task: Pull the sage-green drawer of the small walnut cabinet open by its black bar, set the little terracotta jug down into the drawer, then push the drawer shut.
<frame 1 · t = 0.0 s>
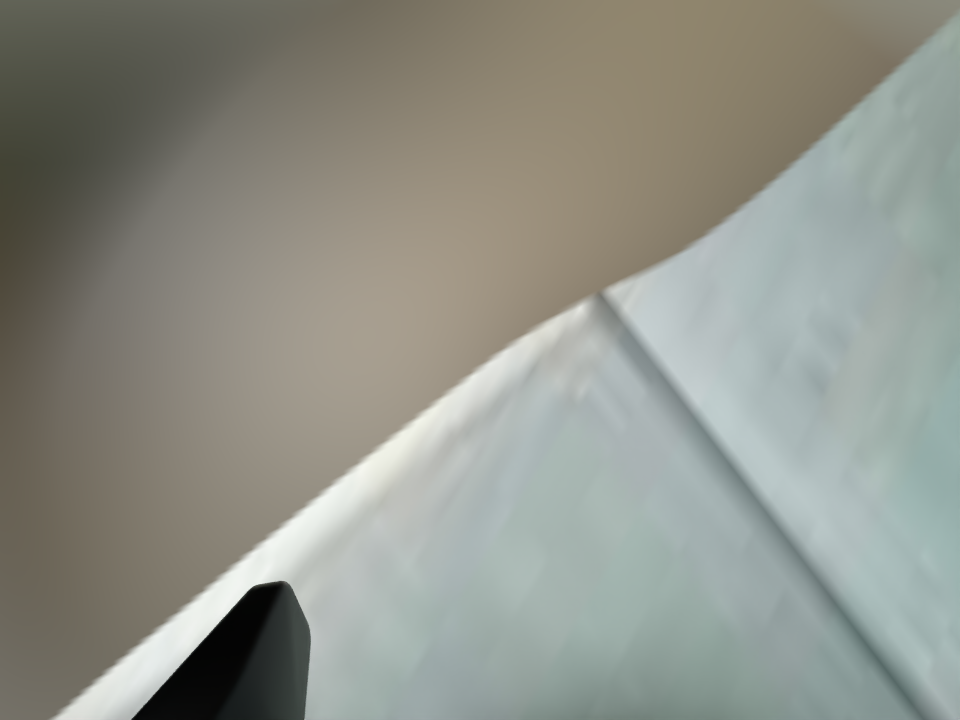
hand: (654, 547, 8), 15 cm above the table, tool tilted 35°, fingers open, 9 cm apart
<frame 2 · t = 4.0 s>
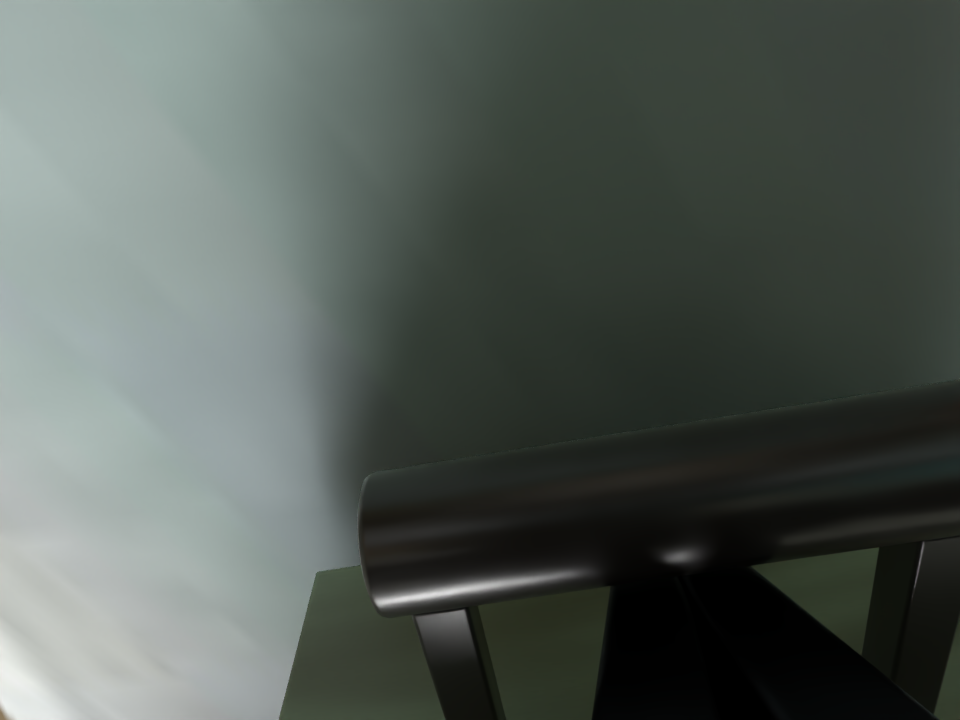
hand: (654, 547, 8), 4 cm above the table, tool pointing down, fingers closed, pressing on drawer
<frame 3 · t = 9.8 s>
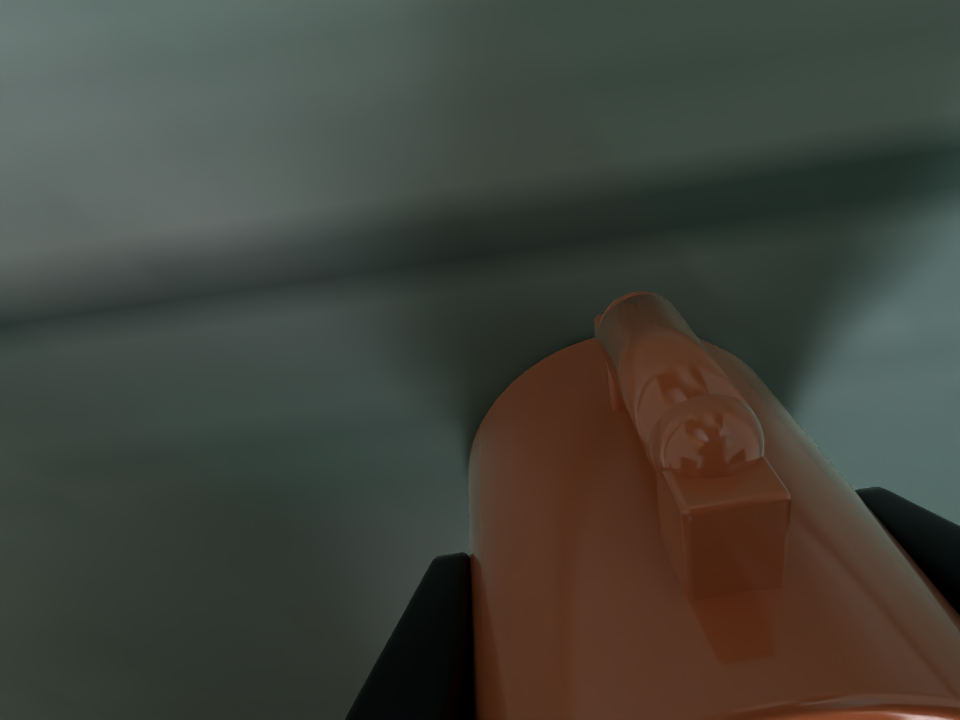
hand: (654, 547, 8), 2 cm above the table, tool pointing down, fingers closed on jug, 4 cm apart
jug: (623, 468, 9), on the table, touching gripper
when the fingers open (7 cm above the table, at t = 31.7 s): jug drops 4 cm, resting on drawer.
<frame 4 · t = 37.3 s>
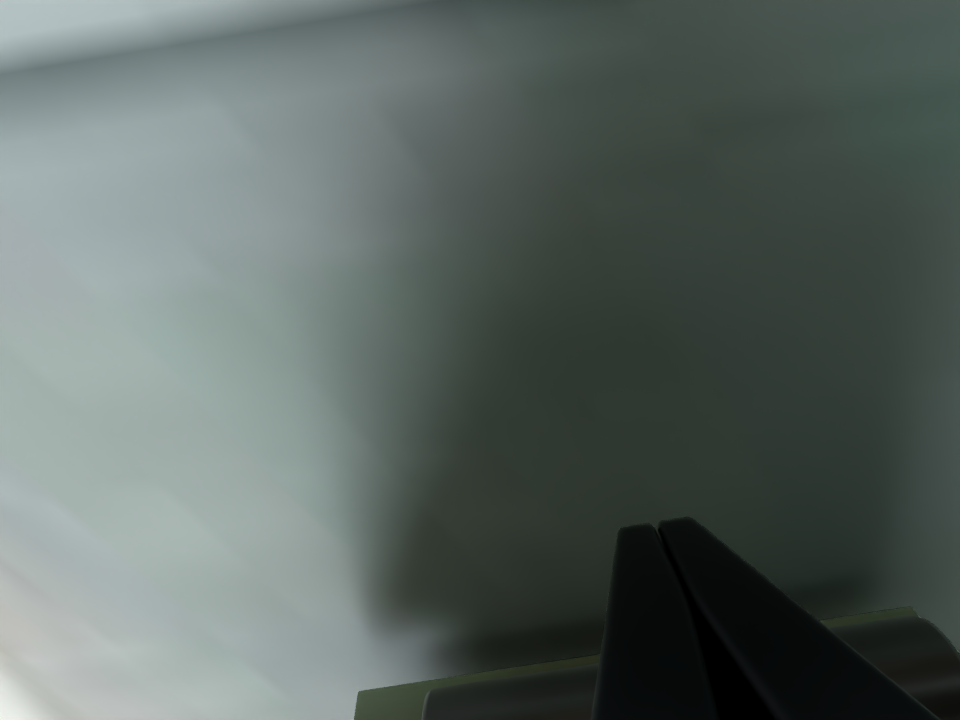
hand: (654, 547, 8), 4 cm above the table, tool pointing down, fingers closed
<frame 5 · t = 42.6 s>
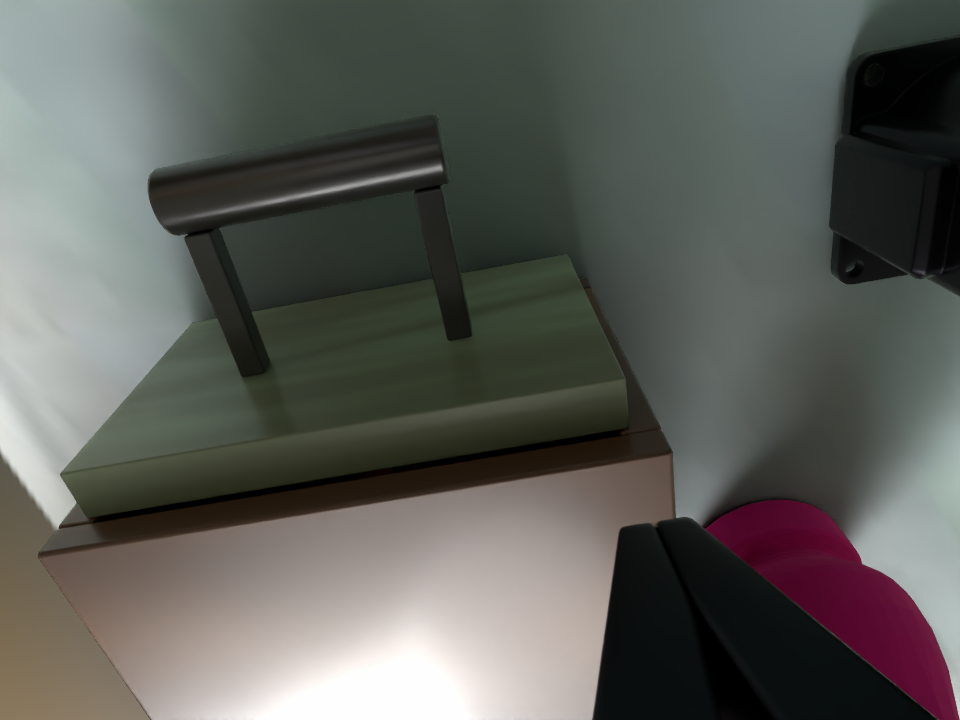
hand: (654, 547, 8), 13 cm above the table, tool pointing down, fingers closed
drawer: (401, 480, 18), point 5 cm above the table, slide at 0.0 cm, touching jug
magenta rounded piece: (758, 554, 26), on the table
cabinet: (437, 490, 24), on the table
jug: (411, 448, 20), point 2 cm above the table, touching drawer
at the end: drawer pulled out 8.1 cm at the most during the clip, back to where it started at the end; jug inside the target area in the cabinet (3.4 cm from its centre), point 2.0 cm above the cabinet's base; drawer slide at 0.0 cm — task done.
